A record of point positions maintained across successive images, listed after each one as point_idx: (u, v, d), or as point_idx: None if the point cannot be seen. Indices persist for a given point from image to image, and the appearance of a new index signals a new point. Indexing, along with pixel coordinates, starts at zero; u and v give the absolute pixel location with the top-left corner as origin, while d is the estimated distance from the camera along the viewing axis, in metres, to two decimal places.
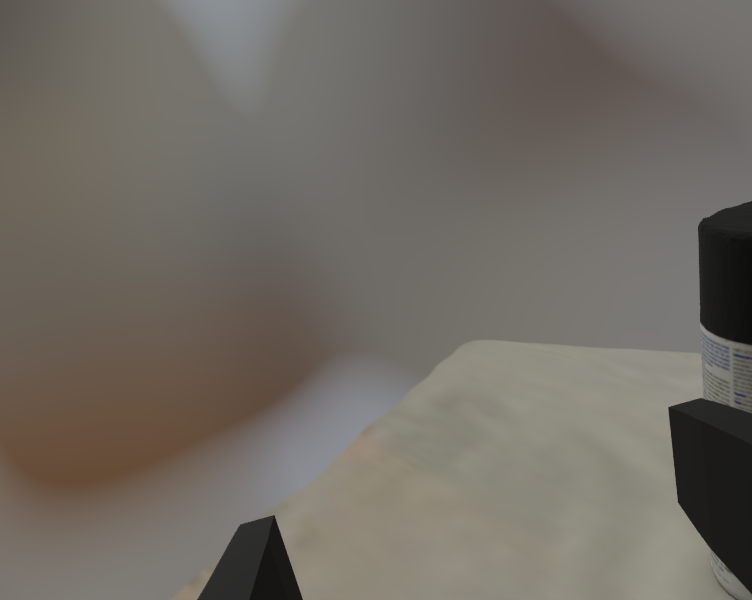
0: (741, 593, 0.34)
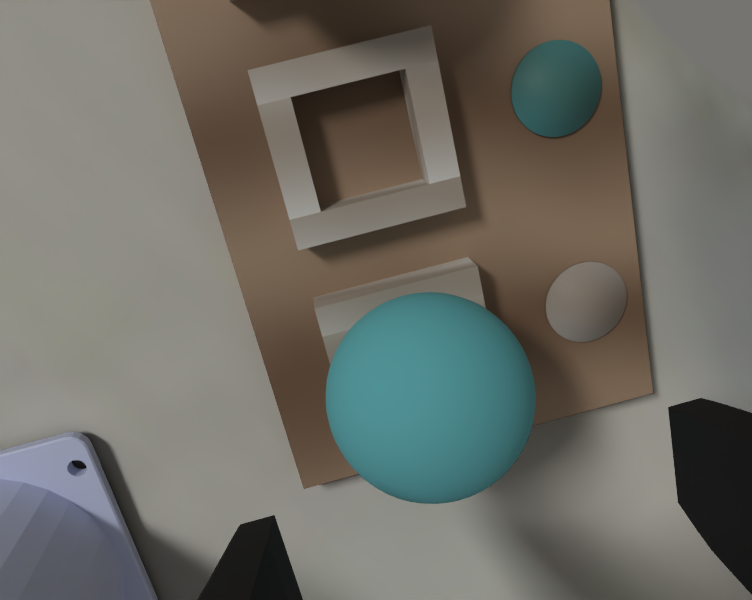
0: None
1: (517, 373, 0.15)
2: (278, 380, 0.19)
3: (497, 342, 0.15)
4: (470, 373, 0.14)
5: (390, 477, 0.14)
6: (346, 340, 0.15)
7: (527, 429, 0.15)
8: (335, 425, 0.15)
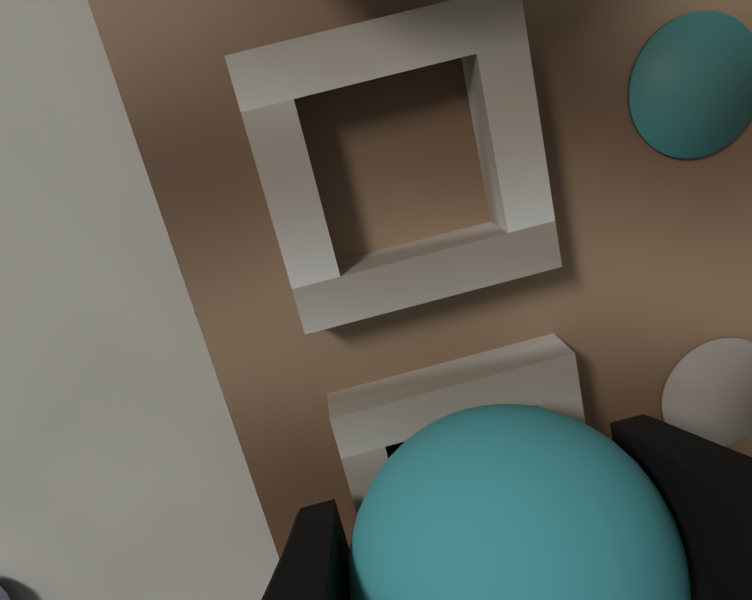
0: None
1: (673, 563, 0.09)
2: (276, 510, 0.13)
3: (639, 510, 0.09)
4: (606, 578, 0.08)
5: None
6: (383, 491, 0.10)
7: None
8: None
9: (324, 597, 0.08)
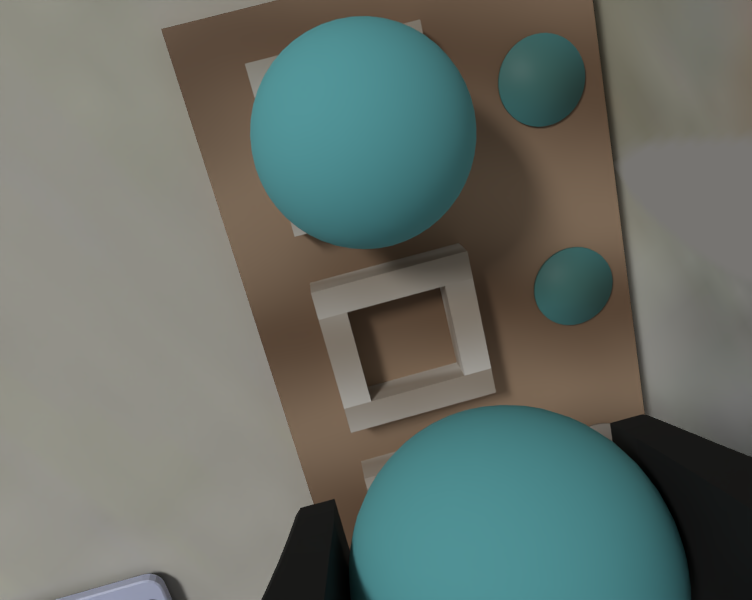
0: None
1: (673, 564, 0.09)
2: None
3: (640, 512, 0.09)
4: (605, 579, 0.08)
5: None
6: (383, 492, 0.10)
7: None
8: None
9: (324, 597, 0.08)
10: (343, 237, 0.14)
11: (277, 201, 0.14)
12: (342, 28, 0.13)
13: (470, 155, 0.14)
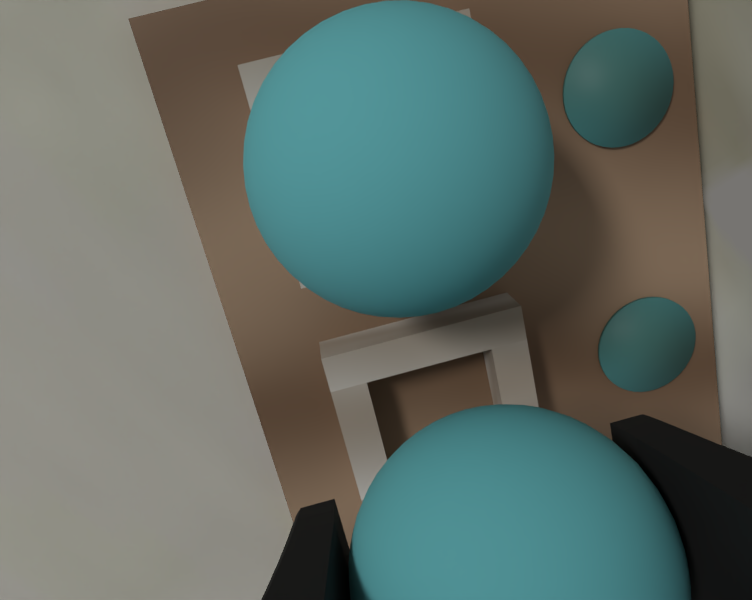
0: None
1: (673, 563, 0.09)
2: None
3: (639, 510, 0.09)
4: (606, 578, 0.08)
5: None
6: (383, 491, 0.10)
7: None
8: None
9: (324, 597, 0.08)
10: (371, 307, 0.10)
11: (280, 256, 0.10)
12: (375, 16, 0.09)
13: (548, 194, 0.10)
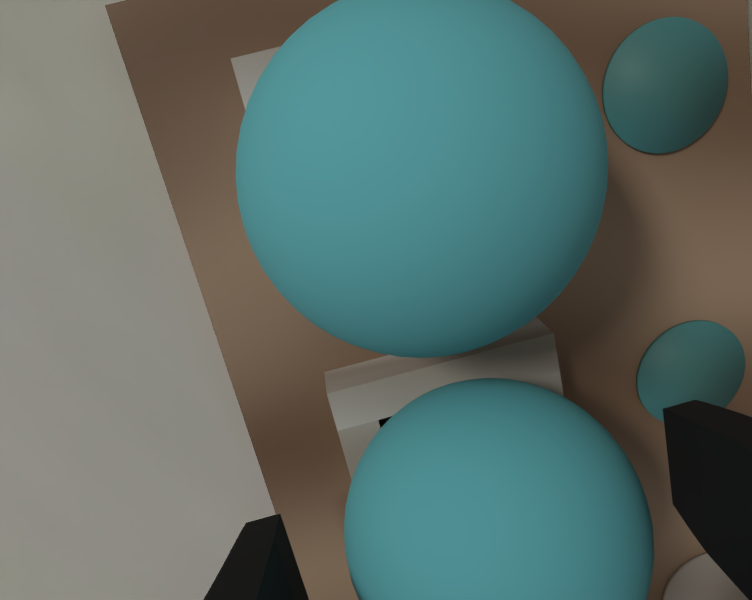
0: None
1: (636, 517, 0.10)
2: None
3: (606, 469, 0.10)
4: (573, 526, 0.09)
5: None
6: (375, 455, 0.11)
7: (647, 595, 0.10)
8: (360, 585, 0.10)
9: None
10: (389, 348, 0.09)
11: (279, 286, 0.09)
12: None
13: (601, 213, 0.09)
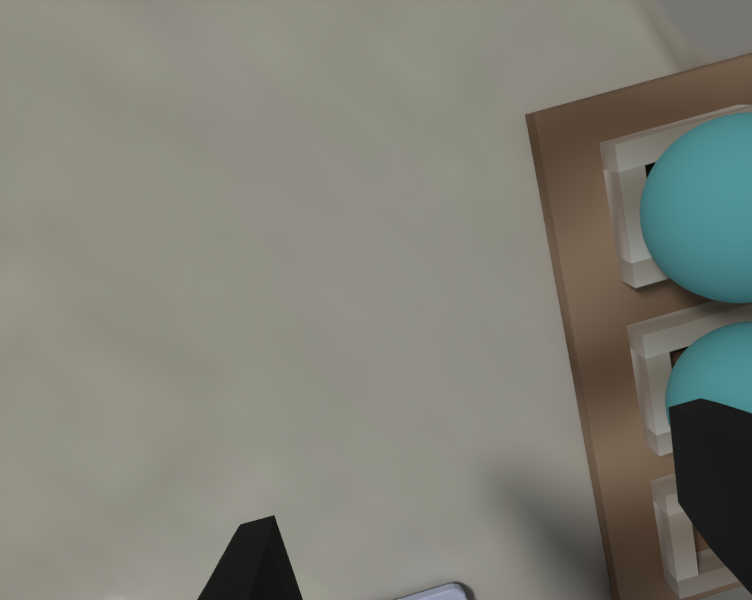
0: None
1: None
2: (616, 542, 0.24)
3: None
4: None
5: None
6: (700, 362, 0.19)
7: None
8: None
9: None
10: (743, 295, 0.17)
11: (685, 266, 0.17)
12: None
13: None
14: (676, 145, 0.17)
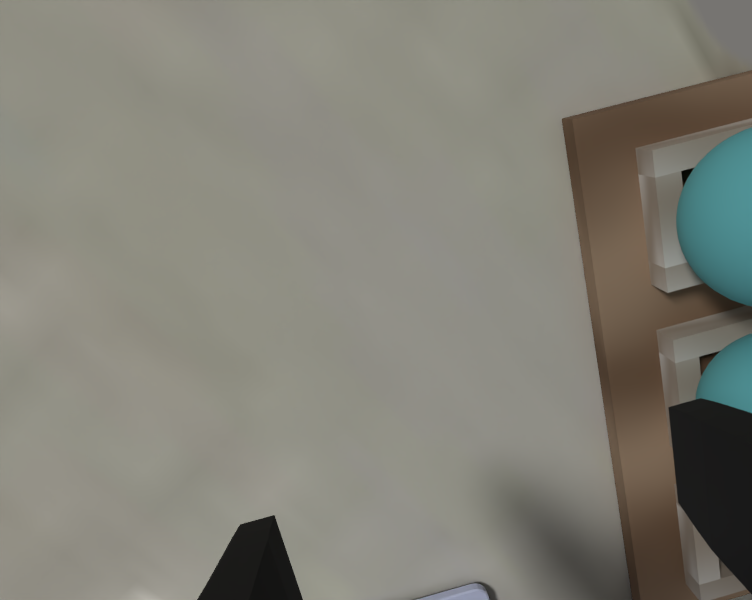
0: None
1: None
2: (639, 544, 0.24)
3: None
4: None
5: None
6: (733, 367, 0.19)
7: None
8: None
9: None
10: None
11: (724, 271, 0.17)
12: None
13: None
14: (716, 152, 0.18)
